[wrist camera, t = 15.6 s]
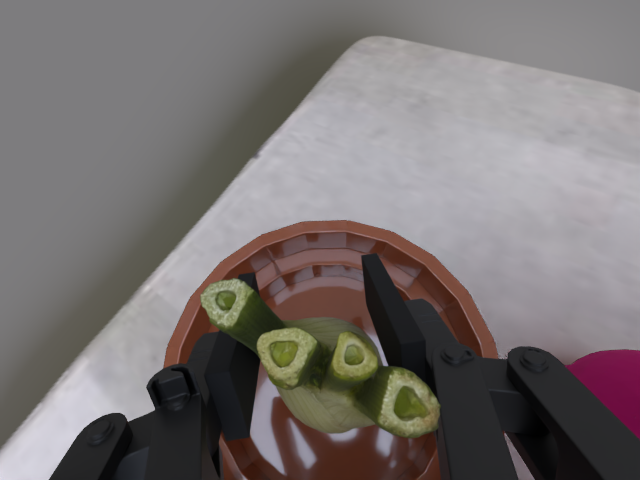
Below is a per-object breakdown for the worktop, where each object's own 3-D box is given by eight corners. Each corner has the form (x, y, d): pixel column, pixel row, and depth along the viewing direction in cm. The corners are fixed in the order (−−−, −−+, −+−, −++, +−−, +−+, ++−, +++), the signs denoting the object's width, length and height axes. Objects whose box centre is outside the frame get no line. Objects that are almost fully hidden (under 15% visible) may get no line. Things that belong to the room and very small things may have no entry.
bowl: (399, 225, 26) (413, 185, 21) (520, 477, 19) (584, 508, 14) (182, 296, 24) (141, 272, 19) (232, 592, 18) (188, 673, 13)
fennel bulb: (263, 354, 19) (158, 300, 8) (336, 302, 20) (337, 188, 9) (324, 457, 16) (303, 588, 6) (403, 393, 17) (517, 396, 7)
